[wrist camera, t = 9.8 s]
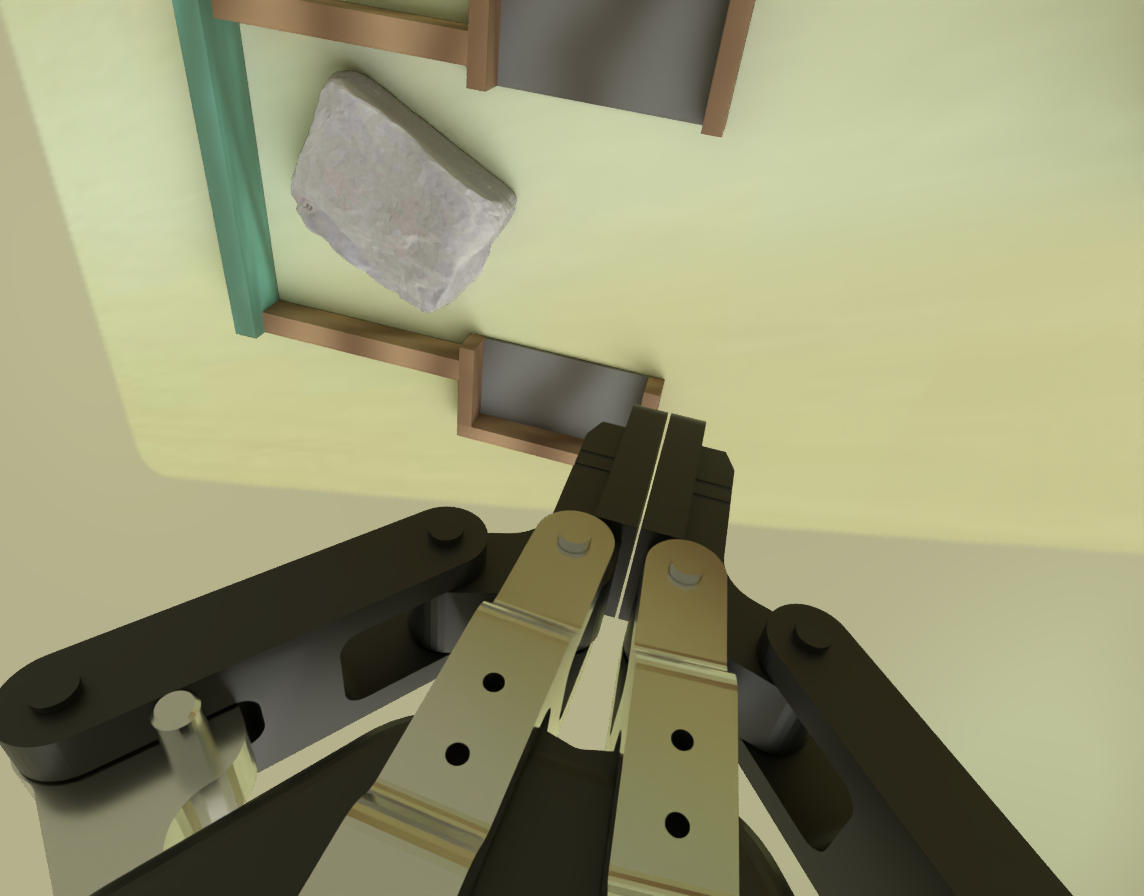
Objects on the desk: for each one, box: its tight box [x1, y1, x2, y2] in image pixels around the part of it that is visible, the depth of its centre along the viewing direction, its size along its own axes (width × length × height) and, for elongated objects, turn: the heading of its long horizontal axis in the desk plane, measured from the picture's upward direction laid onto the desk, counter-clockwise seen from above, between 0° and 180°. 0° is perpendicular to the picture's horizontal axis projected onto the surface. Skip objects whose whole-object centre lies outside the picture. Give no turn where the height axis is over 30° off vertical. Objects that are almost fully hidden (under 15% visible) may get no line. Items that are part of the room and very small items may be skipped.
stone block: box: [291, 71, 516, 313], centre depth 41 cm, size 12×5×10 cm
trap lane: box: [172, 0, 755, 465], centre depth 41 cm, size 28×29×3 cm
